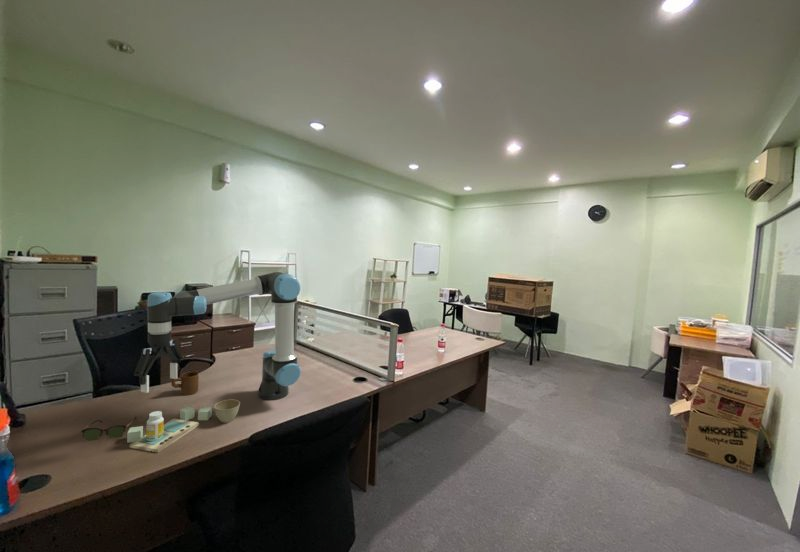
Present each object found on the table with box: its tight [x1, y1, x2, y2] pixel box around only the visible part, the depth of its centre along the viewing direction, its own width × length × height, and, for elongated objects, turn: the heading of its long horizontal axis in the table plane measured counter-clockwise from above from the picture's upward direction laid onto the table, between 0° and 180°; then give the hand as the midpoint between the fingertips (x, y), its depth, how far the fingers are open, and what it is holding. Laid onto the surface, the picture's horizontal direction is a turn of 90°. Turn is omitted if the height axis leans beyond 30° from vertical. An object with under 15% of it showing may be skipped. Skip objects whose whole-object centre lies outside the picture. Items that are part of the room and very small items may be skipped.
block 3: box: [197, 406, 213, 421], centre depth 149 cm, size 4×4×4 cm
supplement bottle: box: [145, 410, 165, 441], centre depth 130 cm, size 5×5×10 cm
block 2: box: [179, 406, 196, 421], centre depth 148 cm, size 4×4×4 cm
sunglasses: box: [80, 416, 137, 441], centre depth 136 cm, size 14×15×5 cm
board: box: [129, 418, 200, 453], centre depth 134 cm, size 12×20×1 cm, turn 171°
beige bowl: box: [213, 398, 241, 424], centre depth 148 cm, size 10×10×7 cm
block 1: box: [126, 425, 144, 444], centre depth 130 cm, size 4×4×4 cm
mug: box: [170, 371, 200, 396], centre depth 171 cm, size 12×8×9 cm, turn 142°
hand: (160, 384), depth 133 cm, fingers open, 13 cm apart
